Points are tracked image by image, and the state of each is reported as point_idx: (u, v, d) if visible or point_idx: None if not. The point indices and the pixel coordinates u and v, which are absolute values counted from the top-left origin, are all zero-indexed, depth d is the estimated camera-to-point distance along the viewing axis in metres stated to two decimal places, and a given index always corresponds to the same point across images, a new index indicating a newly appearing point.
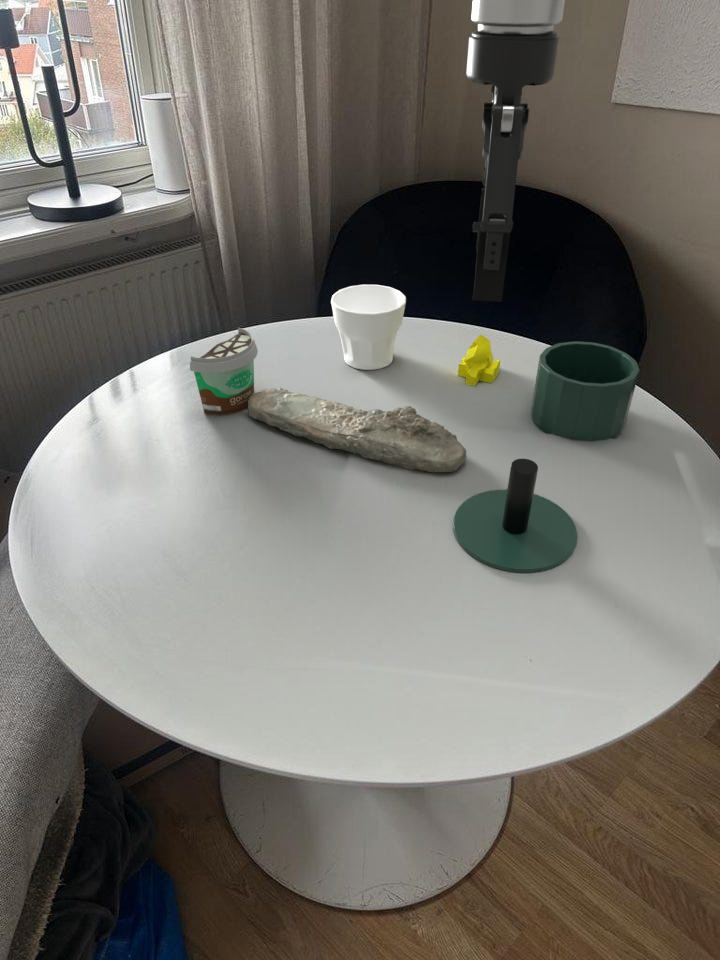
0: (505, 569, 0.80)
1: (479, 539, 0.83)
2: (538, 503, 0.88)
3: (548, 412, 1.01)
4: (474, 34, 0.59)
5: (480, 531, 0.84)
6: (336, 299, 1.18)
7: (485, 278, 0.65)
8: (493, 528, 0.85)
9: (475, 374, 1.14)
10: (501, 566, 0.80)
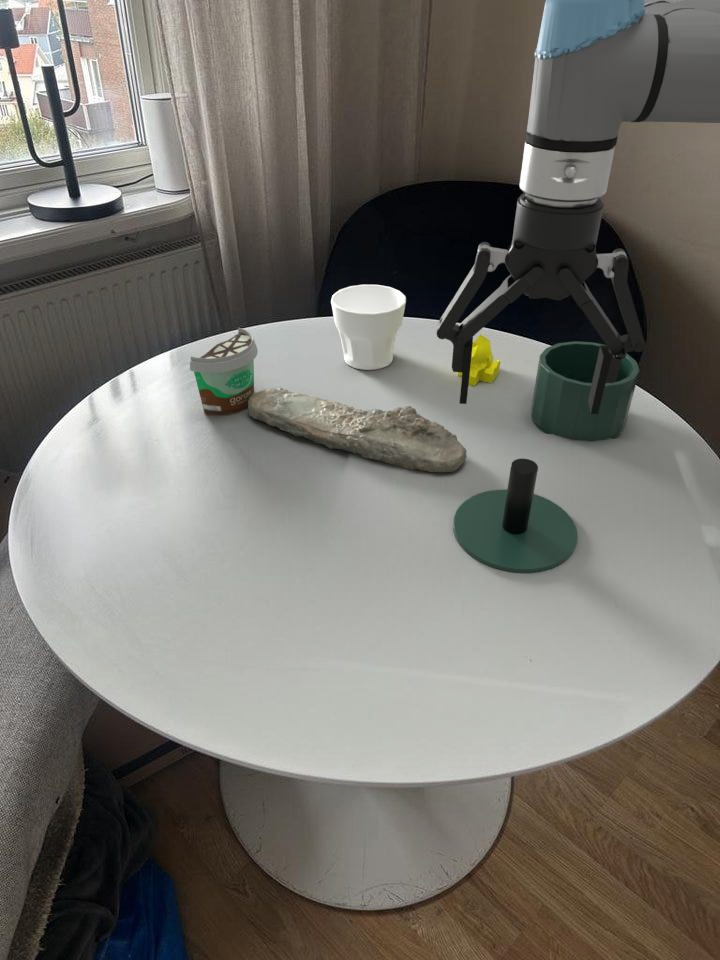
0: (505, 569, 0.80)
1: (479, 539, 0.83)
2: (538, 503, 0.88)
3: (548, 412, 1.01)
4: (580, 211, 0.60)
5: (480, 531, 0.84)
6: (336, 299, 1.18)
7: None
8: (493, 528, 0.85)
9: (475, 374, 1.14)
10: (501, 566, 0.80)
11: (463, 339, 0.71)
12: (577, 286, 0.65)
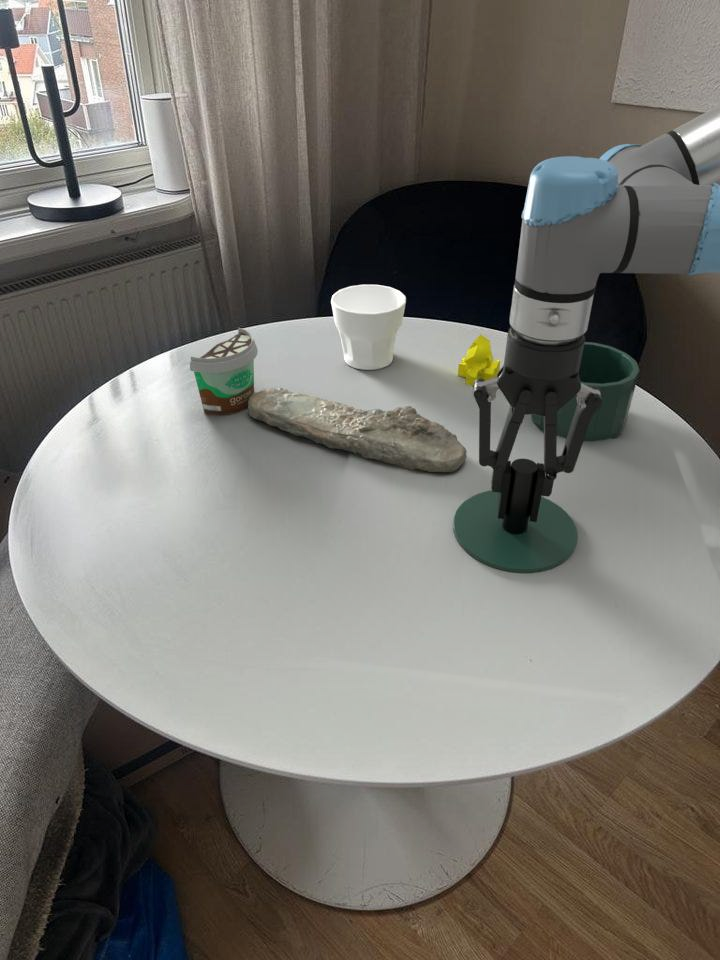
0: (505, 569, 0.80)
1: (479, 539, 0.83)
2: None
3: None
4: (563, 348, 0.67)
5: (480, 531, 0.84)
6: (336, 299, 1.18)
7: None
8: (493, 528, 0.85)
9: (475, 374, 1.14)
10: (501, 566, 0.80)
11: (502, 465, 0.79)
12: (553, 410, 0.73)
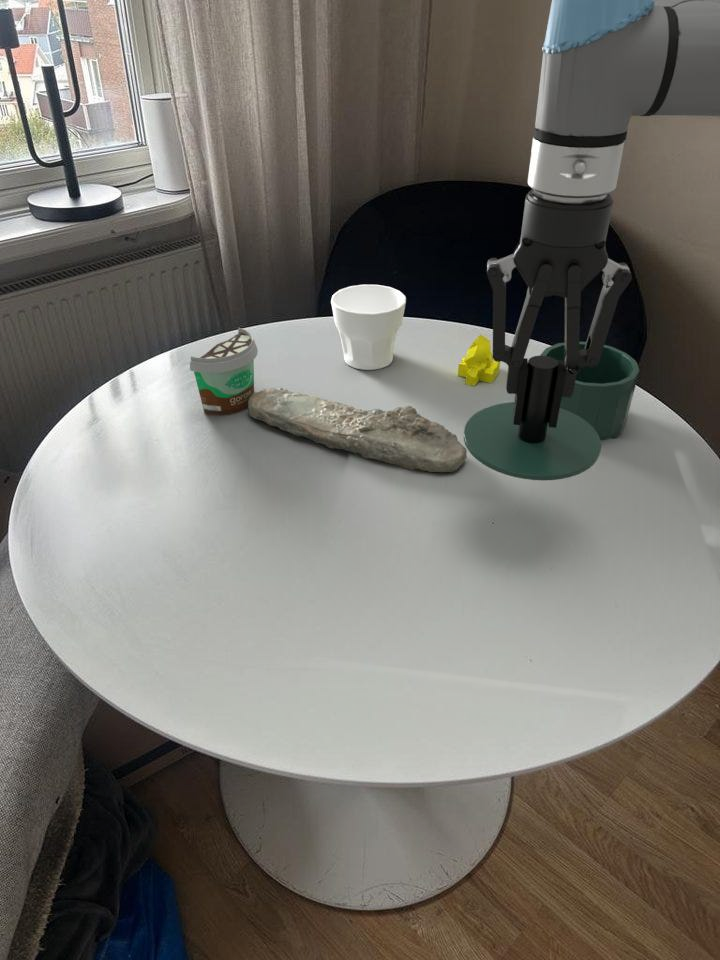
0: (523, 476, 0.72)
1: (493, 448, 0.75)
2: None
3: None
4: (589, 207, 0.59)
5: (494, 440, 0.76)
6: (336, 299, 1.18)
7: None
8: (508, 438, 0.77)
9: (475, 374, 1.14)
10: (518, 473, 0.72)
11: (518, 360, 0.71)
12: (577, 288, 0.65)
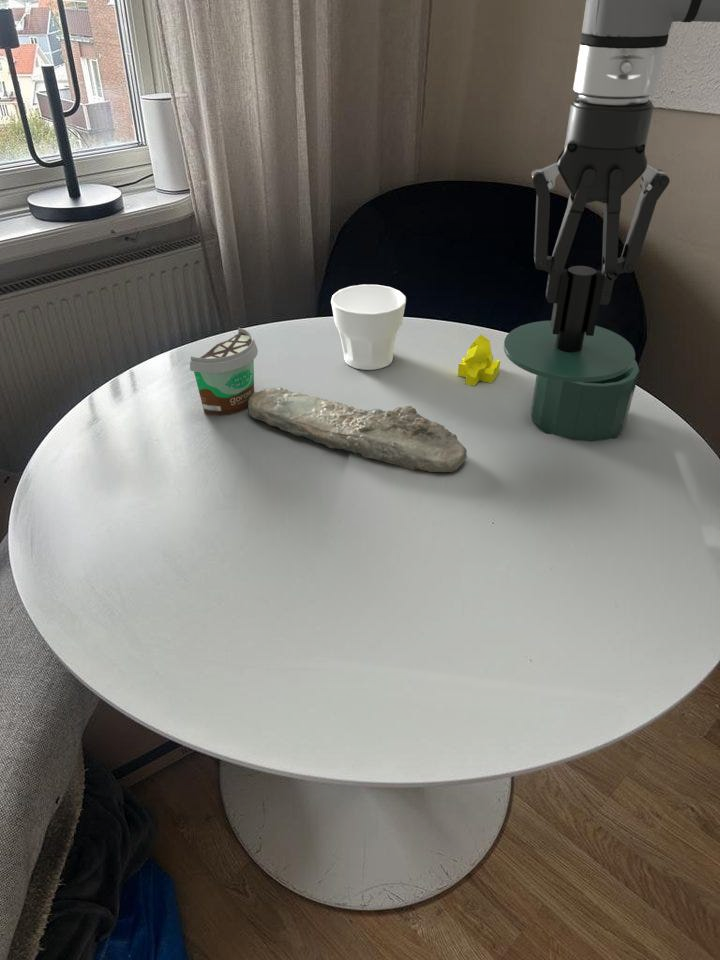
0: (564, 378, 0.76)
1: (533, 356, 0.80)
2: None
3: (548, 412, 1.01)
4: (633, 108, 0.64)
5: (533, 351, 0.81)
6: (336, 299, 1.18)
7: None
8: (546, 348, 0.81)
9: (475, 374, 1.14)
10: (559, 376, 0.76)
11: (559, 268, 0.75)
12: (618, 192, 0.69)
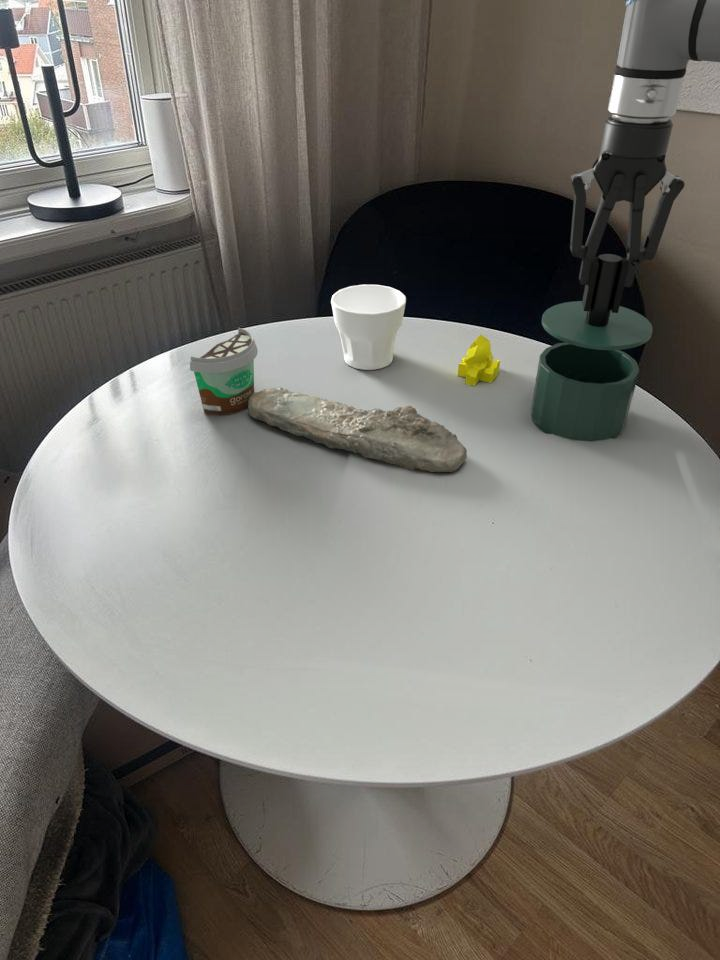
0: (593, 347, 0.92)
1: (567, 329, 0.95)
2: None
3: (548, 412, 1.01)
4: (656, 126, 0.79)
5: (567, 325, 0.97)
6: (336, 299, 1.18)
7: None
8: (578, 323, 0.97)
9: (475, 374, 1.14)
10: (590, 344, 0.92)
11: (591, 255, 0.91)
12: (642, 194, 0.85)
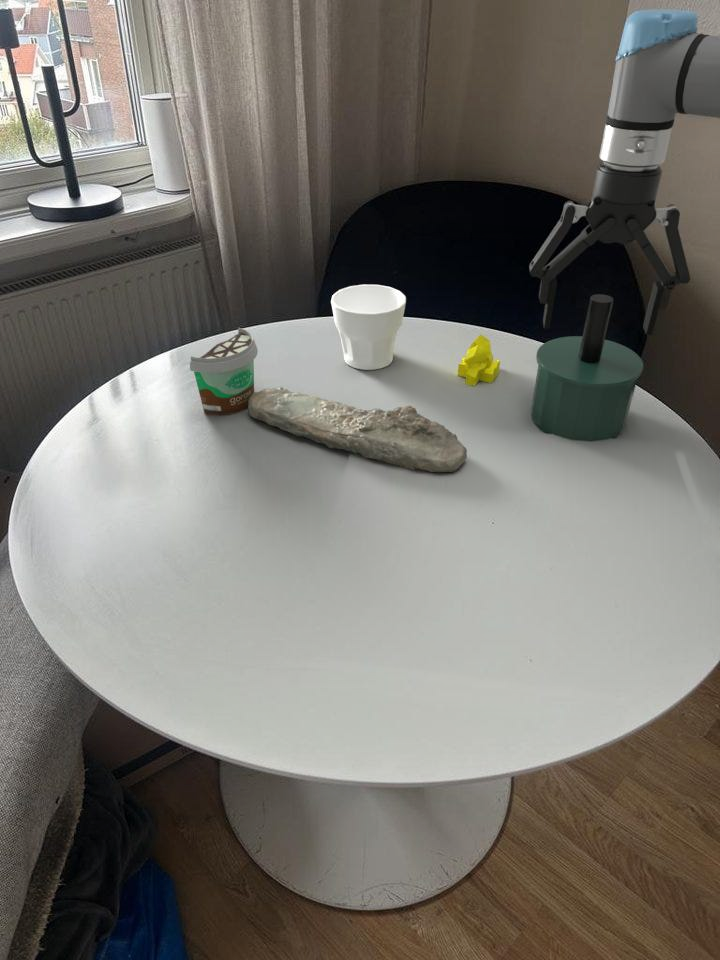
0: (586, 384, 0.95)
1: (561, 366, 0.99)
2: (606, 344, 1.04)
3: (548, 412, 1.01)
4: (646, 174, 0.82)
5: (560, 361, 1.00)
6: (336, 299, 1.18)
7: None
8: (571, 359, 1.00)
9: (475, 374, 1.14)
10: (582, 382, 0.95)
11: (550, 276, 0.93)
12: (640, 232, 0.88)
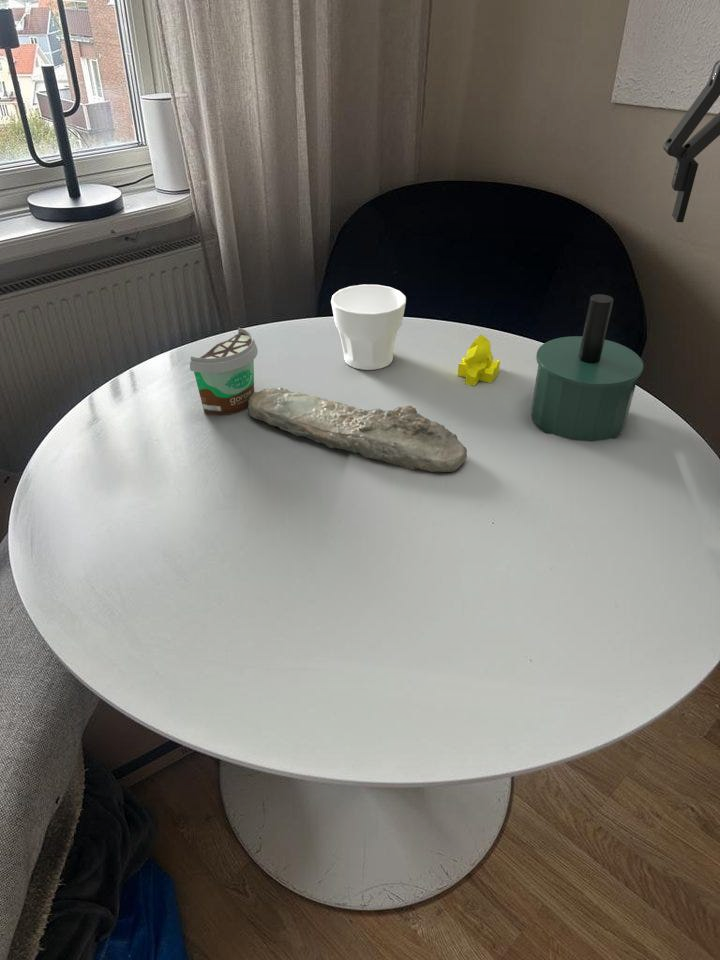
0: (586, 384, 0.95)
1: (561, 366, 0.99)
2: (606, 344, 1.04)
3: (548, 412, 1.01)
4: None
5: (560, 361, 1.00)
6: (336, 299, 1.18)
7: None
8: (571, 359, 1.00)
9: (475, 374, 1.14)
10: (582, 382, 0.95)
11: (691, 155, 0.80)
12: None
